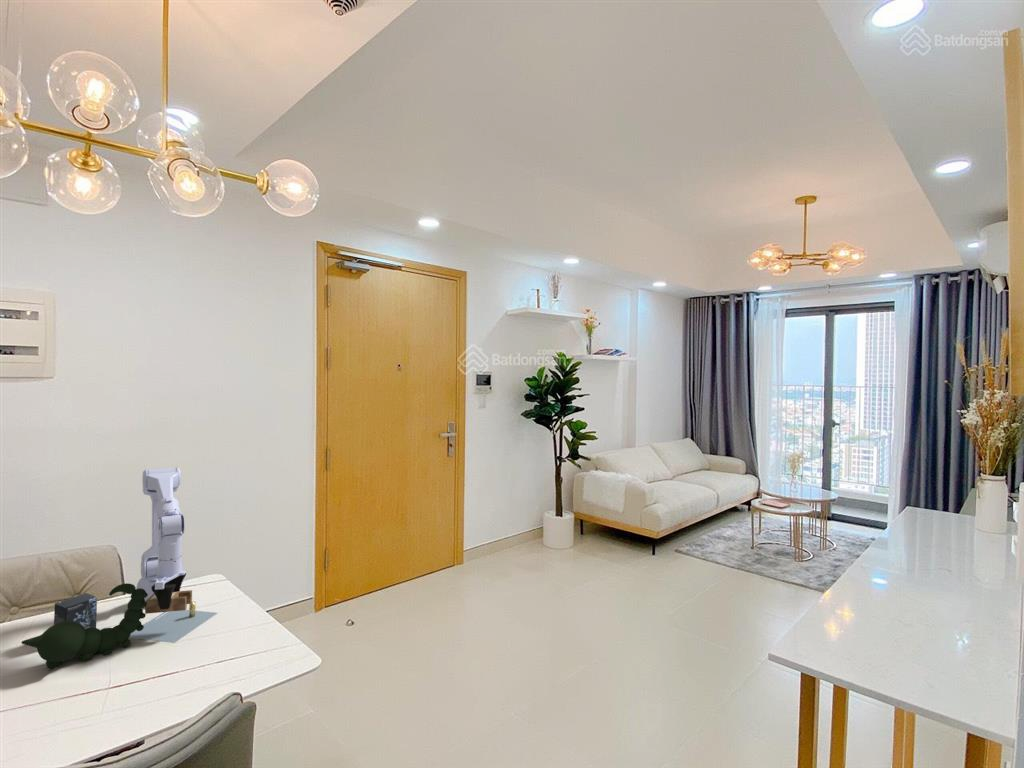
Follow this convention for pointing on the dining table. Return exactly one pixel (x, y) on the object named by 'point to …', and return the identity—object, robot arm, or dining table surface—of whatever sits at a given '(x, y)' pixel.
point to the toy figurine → (90, 633)
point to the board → (171, 626)
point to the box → (77, 610)
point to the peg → (192, 609)
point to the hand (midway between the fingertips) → (169, 603)
